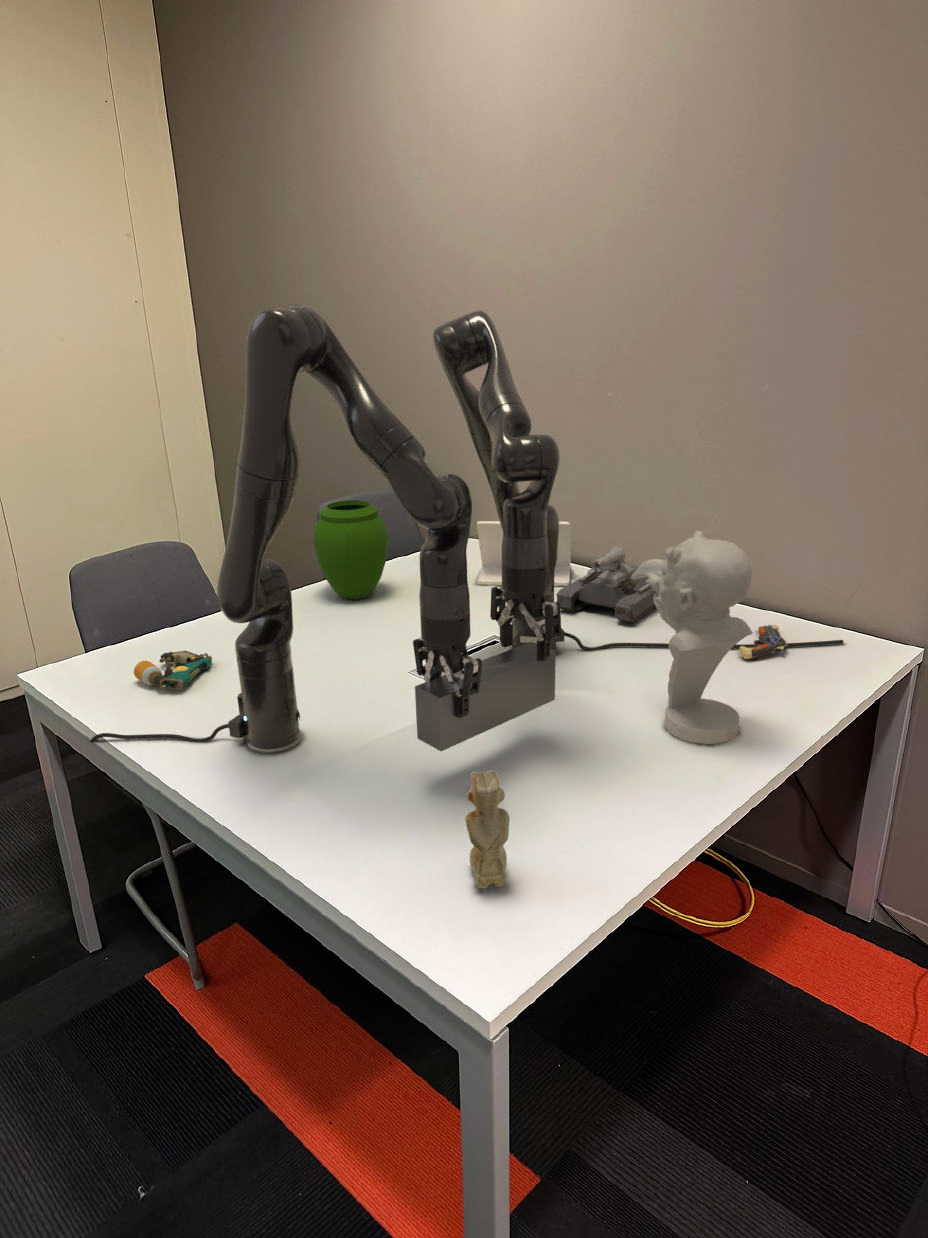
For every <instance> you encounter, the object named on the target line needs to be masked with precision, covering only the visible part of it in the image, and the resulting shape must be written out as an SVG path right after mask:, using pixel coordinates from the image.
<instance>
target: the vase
mask: <svg viewBox="0 0 928 1238" xmlns="http://www.w3.org/2000/svg"><path fill="white" fill-rule="evenodd" d="M385 521H386V520H384V519H383V518H382V517H381V516H380V515H379V509H378V508H377V507H376V506H375V505H374V504H371V503H370V502H368V501H365V500H355V499H354V500H340V501H335V502H331V503H329V504H327V505H326V506H325V507H324V508H322V510H320V511H319V519H318V520H317V522H316V523H315V525H314V531H313V539H312V542H313V546H314V550H315V554H316V559H317V562H318V564H319V567H320V568H321V571H322V573H323V575H324V578H325V579H326V582H327V583H328V585H330V587H331V588H332V590H333V591H334V592H335V593H336V594H337V595H338V596H339V597H340V598H343V599H345V600H353V601H354V600H362V599H365V598H367V597H368V596H370V595H372V594H373V592H374V591H375V590H376V588H377V586H378V584H379V582H380V580H381V578H382V576H383V573H384V568H385V565H386V563H387V557H388V550H389V549H388V547H389V532H388V529H387V525H386V522H385Z"/></svg>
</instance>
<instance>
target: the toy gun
mask: <svg viewBox="0 0 928 1238" xmlns="http://www.w3.org/2000/svg"><path fill="white" fill-rule="evenodd" d="M779 630H780V627H779V626H778V625H777V624H768V625H766V624H765V625H763V626H762V625H761V626H759V627H758V633H759V636H758V639H756V640H754V641H753V644H754V645H753V647H744V646H741V647H740V648H739V653H740V655H741V657H742V658H743V659H745V660H750V659H753V658H756V657H760V656H764V655H766V654H771V653H773V652H775V651H778V650H781V651H783V650H784V649H785V647H784V646H788V645H787V644H786V643H787V641H786V639H784V638H783V637H782V636H781V635H780V632H779ZM757 644H763V645H757Z"/></svg>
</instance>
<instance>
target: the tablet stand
mask: <svg viewBox="0 0 928 1238" xmlns="http://www.w3.org/2000/svg"><path fill="white" fill-rule="evenodd" d="M476 531H477V537H478V544H479V551H480V557H481V558H480V559H481V570H480V573H479V575H478V577H477V580H476V581H477V582H476V584H478V585H484V586H485V585H486V586H487V585H489V586H490V585H491V586H499V585H502V541H503V530H502V527H501V524H500V520H477V522H476ZM571 560H572V558H571V522H569V521H559V536H558V551H557V563H556V567H555V571H554V587H556V586H557V587H566V586H567V585H569V584H570V580H571V579H570V578H571V565H572V564H571Z"/></svg>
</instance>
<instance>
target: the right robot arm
mask: <svg viewBox="0 0 928 1238" xmlns="http://www.w3.org/2000/svg"><path fill="white" fill-rule="evenodd" d="M432 341H433V342H432V343H433V346H434V348H435V352H436V355H437V357H438V360H439V362H440V364H441V366H442V369H443V371H444V373H445V375H446V377H447V380H448V382H449V385H450V387H451V389H452V391H453V393H454V396H455V399H456V400H457V403H458V404H459V406H460V409H461V412H462V415H463V417H464V420H465V423H466V426H467V428H468V432H469V434H470V438H471V440H472V443H473V446H474V449H475V452H476V454H477V457H478V459H479V461H480V464H481V466H482V468H483V471H484V474H485V476H486V479H487V482H488V485H489V488H490V491H491V495H492V497H493V500H494V504H495V508H496V513H497V516H498V521H500V524H501V527H502V530H503V541H502V585H495V586H493V587H491V589H490V610H489V611H490V614H489V615H490V616H489V617H490V619H491V620H492V621H496V622H497V625H498V627H499V642H500V647H503V648H508V647H510V646H511V647H510V650H511V649H513V648H516V647H519V646H521V645H524V644H526V643H529V642H533V643H535V644H537V661H540V662H542V661H545V660H547V659H548V658H549V657H550V650H554V651H556V655H557V654H558V653H557V650H558V649H557V648H558V647H557V645H558V644H557V643H562V642H565V637H566V638H569V639H572V640H574V641H575V642H576V644H577V645H578V647H579V648H580V649H581V650H582V651H586V652H593V651H600V650H605V649H609V648H618V647H637V648H640V647H641V648H669V642H668V643H667V642H665V643H663V642H660V643H659V642H611V643H606V644H602V645H599V646H594V647H590V646H586V645H583V644H582V641H581V640H580V638H579V637H577V636H576V635H574V634H572V633H568V632H566V631H565V630H564V629H563V628H562V616H561V615H562V614H561V613H562V612H561V608H560V603H559V602H557V601H555V586H554V571H555V567H556V563H557V551H558V536H559V522H560V520H559V514H558V511H557V509H556V507H554V506H553V505H551V504H550V499H551V494H552V491H553V487H554V484H555V480H556V477H557V475H558V471H559V467H560V458H561V457H560V455H561V454H560V449H559V446H558V444H557V442H556V440H555V439H554V438H553V437H552V436H551V435H549V434H545V433H538V434H530V433H531V431H532V419H531V417H530V414H529V412H528V410H527V408H526V406H525V404H524V402H523V400H522V398H521V396H520V394H519V393H518V390H517V388H516V384H515V382H514V378H513V375H512V371H511V368H510V365H509V361H508V359H507V358H508V357H507V355H506V352H505V350H504V346H503V343H502V341H501V339H500V336H499V333H498V330H497V328H496V325H495V324H494V322H493V319H492V318H491V317H490V315H489V314H488V313H487V312H485V311H484V310H481V309H479V310H473V311H470V312H467V313H466V314H464V315H462V316H459V317H457V318H454V319H452V320H450V321H447V322H445V323H443V324H441V325H439V326H437V327H436V328H435V329H433V332H432ZM486 365H487V367H486V372H485V374H484V378H483V380H482V383H481V385H480V388H479V389H477V388H476V387H475V386H474V385H473V383H472V382H471V381H470V379H468V377H467V376H466V374H468V373H471V372H473V371H475V370H477V369H480V368H482V367H484V366H486ZM523 482H529V484H528V486H527V488H526V489H525V490H524V491H522V492H521V491H520V487H519V484H518V483H523ZM786 644H787V645H788V646H784V648H794V647H795V648H797V647H811V646H812V647H814V646H829V645H842V644H844V640H843V639H836V640H835V639H834V640H823V641H822V640H820V641H805V642H790V643H789V642H788V643H787V642H786ZM753 645H754V643H752V644H751V643H750V644H748V643H747V644H742V643H741V644H736V645H735V646H733V647H732V648H731V649H740V647H741V646H744V647H753ZM757 645H763V644H757Z"/></svg>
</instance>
